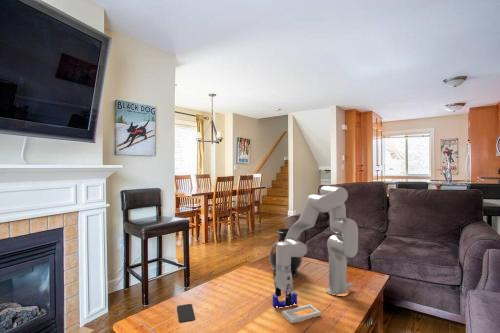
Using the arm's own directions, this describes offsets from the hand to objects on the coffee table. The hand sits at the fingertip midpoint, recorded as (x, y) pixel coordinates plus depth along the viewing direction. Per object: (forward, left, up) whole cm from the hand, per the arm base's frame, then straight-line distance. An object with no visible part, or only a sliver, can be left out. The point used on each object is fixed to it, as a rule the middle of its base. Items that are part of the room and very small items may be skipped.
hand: (283, 300), depth 142 cm
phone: (+47, -12, -2) cm, 48 cm away
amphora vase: (-23, -34, -2) cm, 41 cm away
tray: (-2, +13, -2) cm, 13 cm away
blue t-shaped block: (0, +1, -2) cm, 3 cm away
